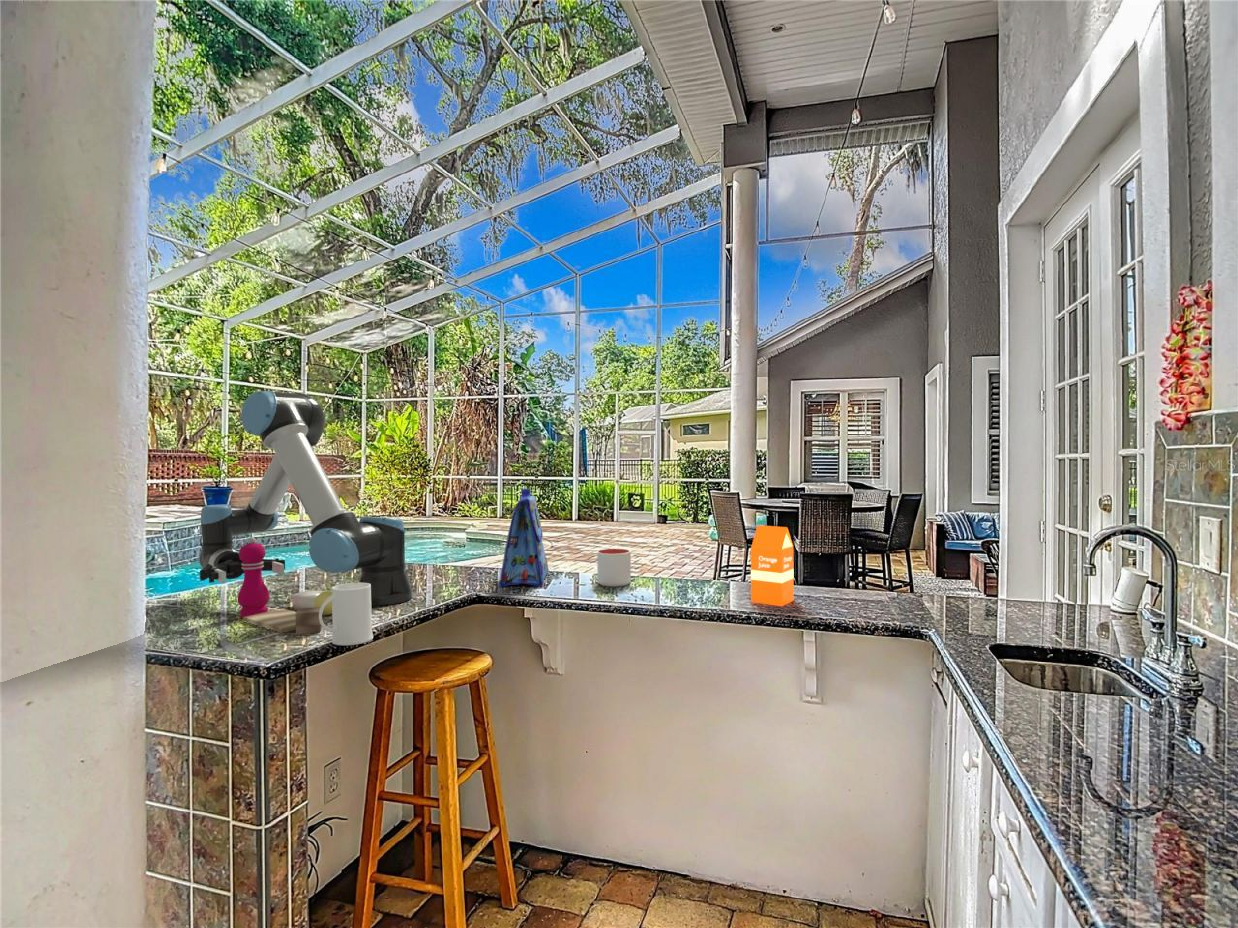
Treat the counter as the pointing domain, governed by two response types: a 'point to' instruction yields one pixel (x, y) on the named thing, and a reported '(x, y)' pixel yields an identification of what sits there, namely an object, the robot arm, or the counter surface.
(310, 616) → the walnut block
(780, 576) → the orange juice
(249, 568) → the pepper mill
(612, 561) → the cup
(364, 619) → the mug
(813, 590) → the counter surface
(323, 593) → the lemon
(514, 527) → the lunch bag
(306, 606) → the white rounded piece
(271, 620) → the serving board
